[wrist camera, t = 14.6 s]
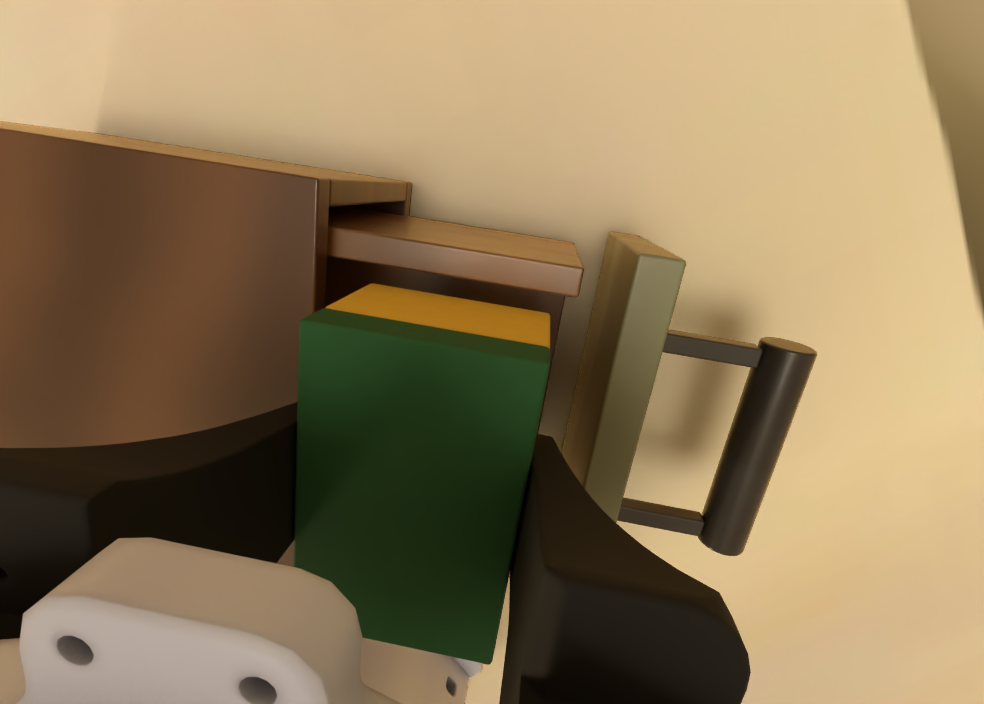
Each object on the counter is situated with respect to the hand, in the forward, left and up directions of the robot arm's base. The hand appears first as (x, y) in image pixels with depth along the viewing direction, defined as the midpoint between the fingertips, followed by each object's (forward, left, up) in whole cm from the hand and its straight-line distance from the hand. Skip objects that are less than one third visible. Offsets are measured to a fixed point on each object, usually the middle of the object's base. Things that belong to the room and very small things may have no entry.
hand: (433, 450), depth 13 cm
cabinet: (+7, +7, -9) cm, 14 cm away
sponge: (0, 0, -1) cm, 1 cm away
